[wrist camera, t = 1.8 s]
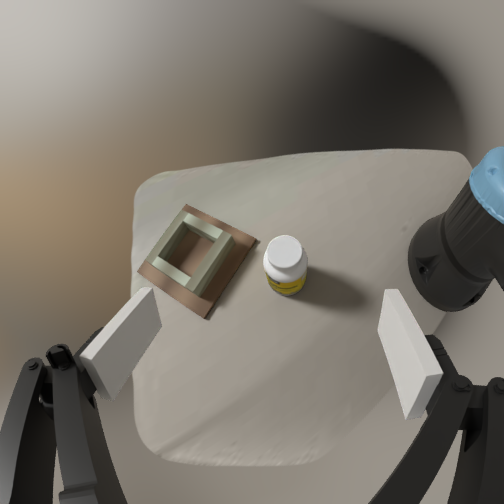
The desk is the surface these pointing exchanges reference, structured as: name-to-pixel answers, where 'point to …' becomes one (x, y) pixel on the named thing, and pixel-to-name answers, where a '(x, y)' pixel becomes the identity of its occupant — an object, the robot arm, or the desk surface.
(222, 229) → the socket board
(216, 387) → the desk surface
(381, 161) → the desk surface
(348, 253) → the desk surface
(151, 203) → the desk surface
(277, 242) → the supplement bottle
